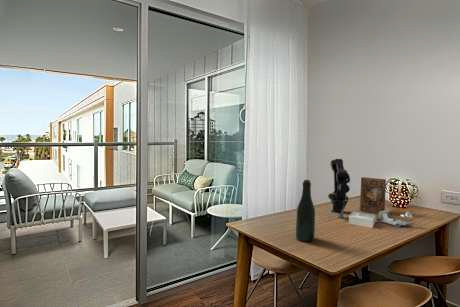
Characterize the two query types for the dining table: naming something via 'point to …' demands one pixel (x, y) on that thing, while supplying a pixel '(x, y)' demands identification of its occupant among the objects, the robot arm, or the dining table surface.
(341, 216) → the peg
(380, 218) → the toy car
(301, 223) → the beer bottle
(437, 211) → the dining table surface
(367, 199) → the book
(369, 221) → the socket block
